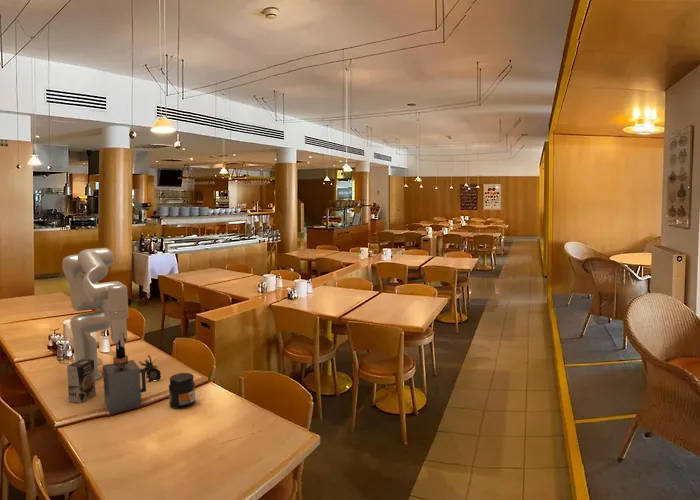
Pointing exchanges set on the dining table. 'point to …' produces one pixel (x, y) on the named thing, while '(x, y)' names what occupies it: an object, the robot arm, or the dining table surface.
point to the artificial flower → (151, 370)
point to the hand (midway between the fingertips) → (120, 357)
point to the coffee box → (81, 380)
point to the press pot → (123, 386)
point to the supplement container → (182, 390)
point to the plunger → (120, 361)
